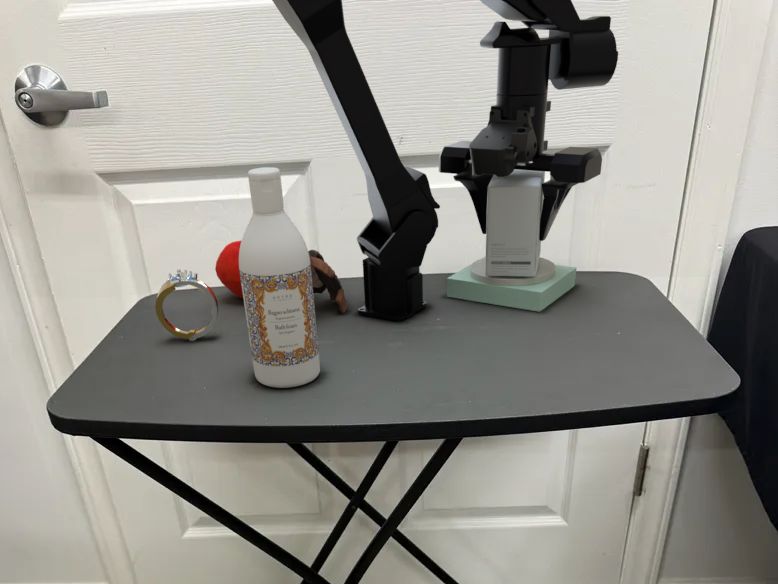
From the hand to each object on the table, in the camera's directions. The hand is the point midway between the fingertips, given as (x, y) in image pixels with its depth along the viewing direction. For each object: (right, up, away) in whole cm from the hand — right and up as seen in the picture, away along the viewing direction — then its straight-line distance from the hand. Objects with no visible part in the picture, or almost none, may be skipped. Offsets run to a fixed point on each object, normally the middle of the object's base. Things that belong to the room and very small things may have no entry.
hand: (513, 236), depth 96 cm
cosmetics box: (0, -3, +2) cm, 4 cm away
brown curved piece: (-26, -8, +2) cm, 27 cm away
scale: (0, -6, +4) cm, 7 cm away
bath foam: (-26, -21, -15) cm, 37 cm away
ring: (-39, -14, -5) cm, 42 cm away
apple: (-34, -5, +7) cm, 35 cm away
